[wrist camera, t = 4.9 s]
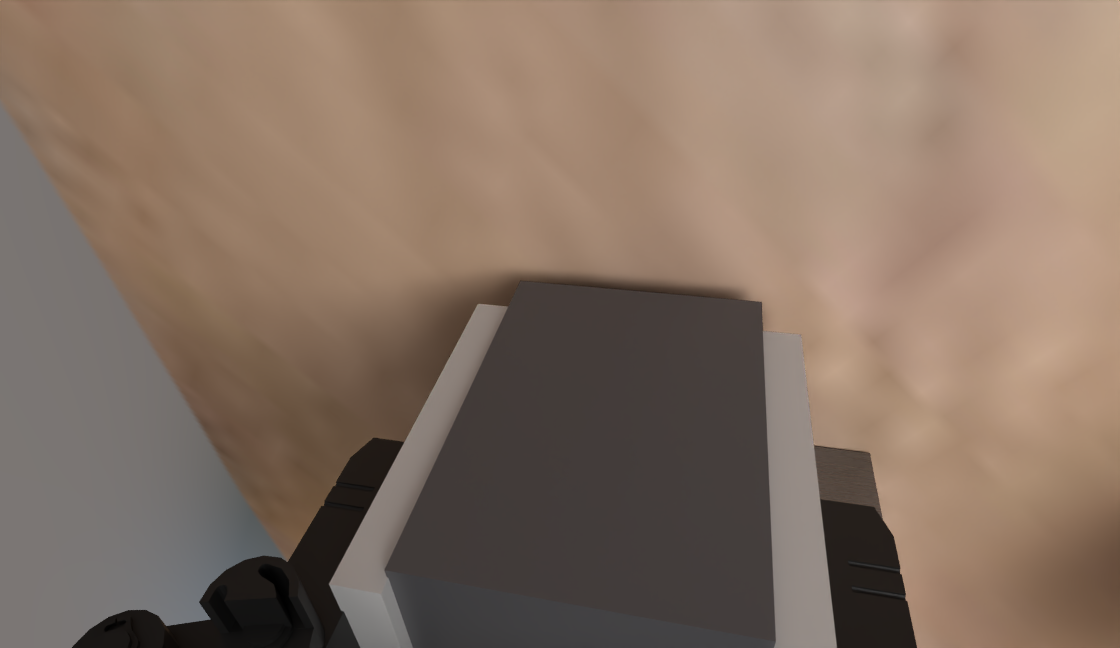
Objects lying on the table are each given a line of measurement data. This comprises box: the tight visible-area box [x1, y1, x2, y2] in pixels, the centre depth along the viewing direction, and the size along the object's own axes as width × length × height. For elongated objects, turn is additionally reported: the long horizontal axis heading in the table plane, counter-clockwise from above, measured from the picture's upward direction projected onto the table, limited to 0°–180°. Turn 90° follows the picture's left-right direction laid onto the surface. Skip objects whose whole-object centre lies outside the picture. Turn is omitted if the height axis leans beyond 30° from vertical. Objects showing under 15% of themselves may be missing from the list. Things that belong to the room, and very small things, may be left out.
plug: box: [384, 281, 776, 648], centre depth 15 cm, size 14×6×8 cm, turn 2°
